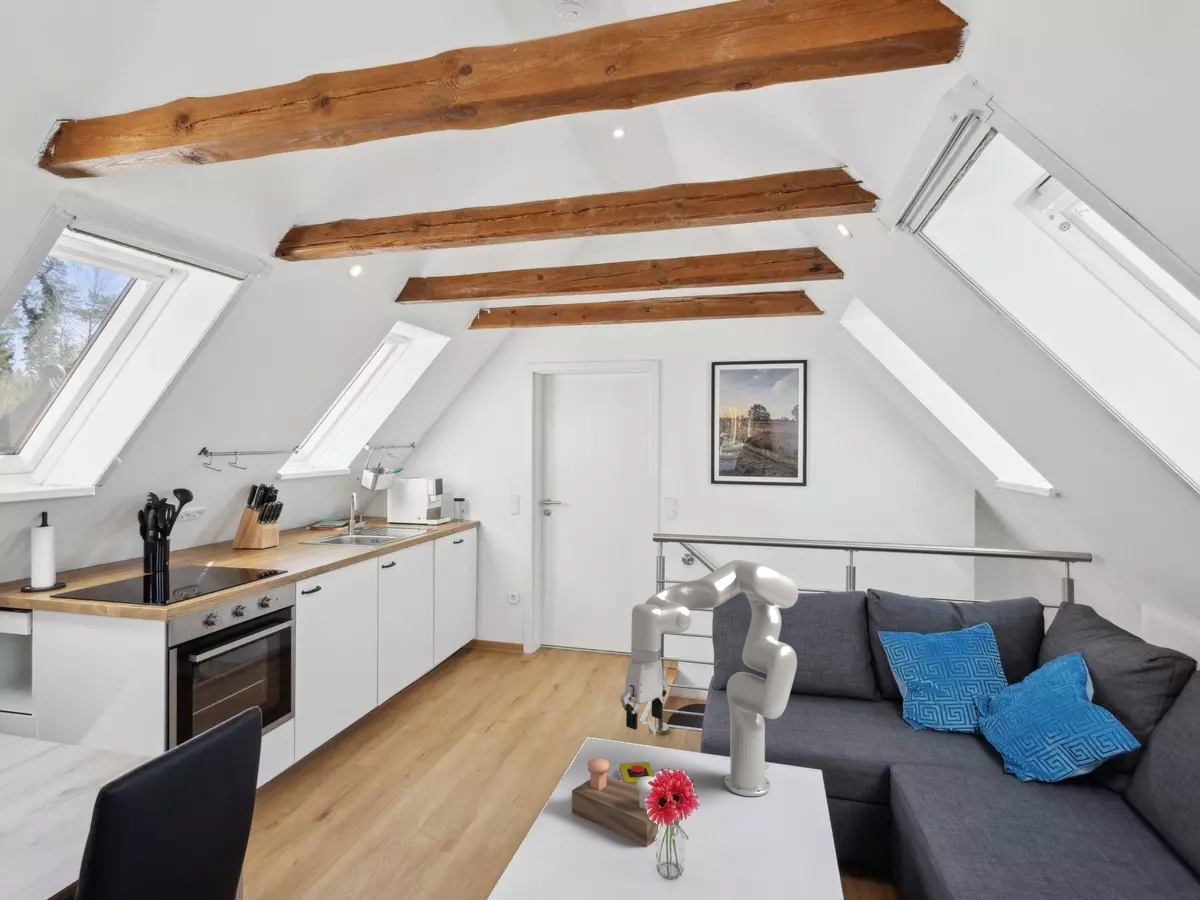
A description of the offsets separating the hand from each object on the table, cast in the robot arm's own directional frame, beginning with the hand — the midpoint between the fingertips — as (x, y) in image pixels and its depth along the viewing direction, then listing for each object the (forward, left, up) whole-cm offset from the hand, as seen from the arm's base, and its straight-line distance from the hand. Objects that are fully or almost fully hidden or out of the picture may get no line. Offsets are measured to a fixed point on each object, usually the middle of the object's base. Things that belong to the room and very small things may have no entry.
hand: (644, 722), depth 170 cm
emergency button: (-18, -16, -27) cm, 36 cm away
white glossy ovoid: (+1, +2, -22) cm, 22 cm away
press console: (+1, -6, -26) cm, 27 cm away
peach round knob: (+1, -14, -22) cm, 26 cm away
